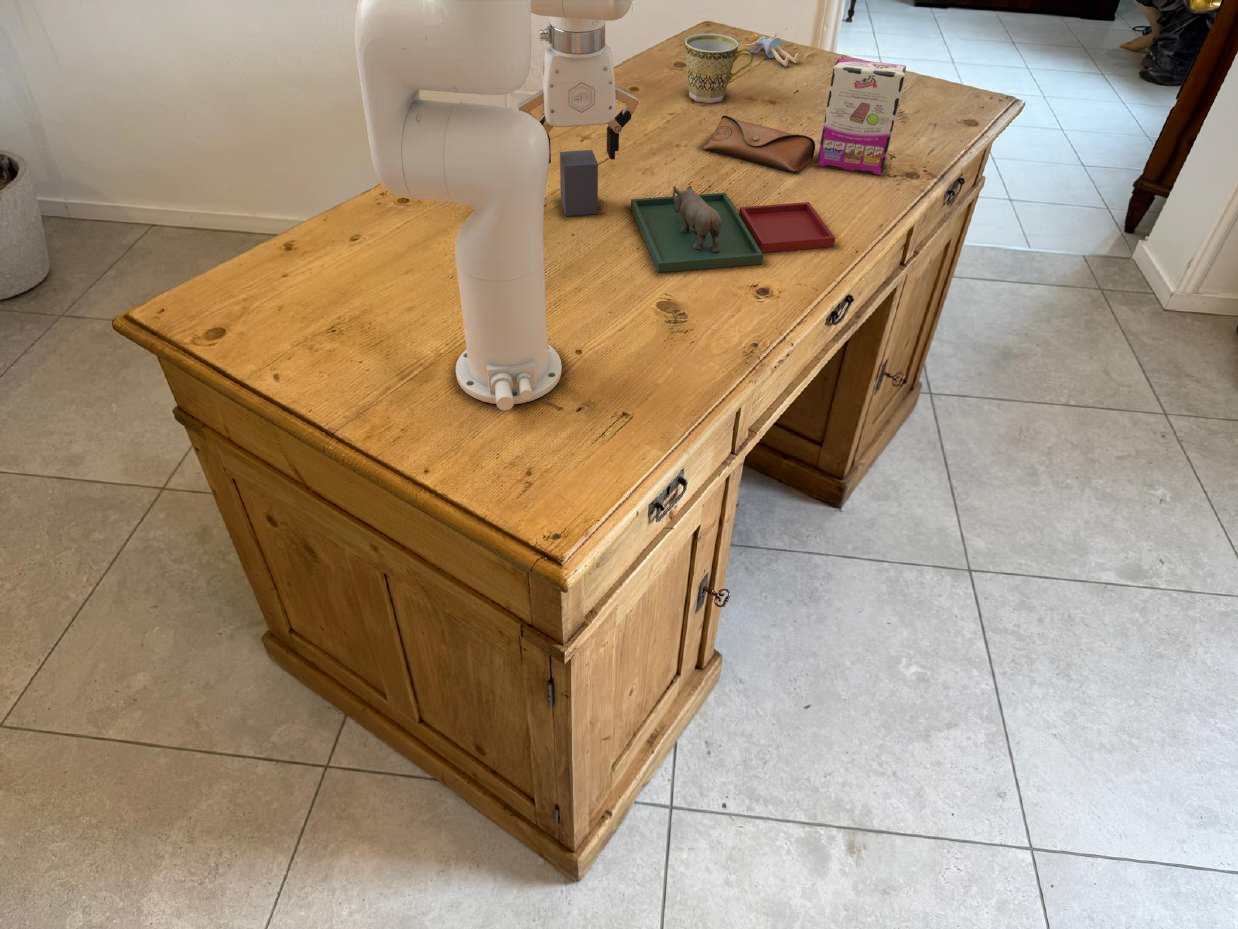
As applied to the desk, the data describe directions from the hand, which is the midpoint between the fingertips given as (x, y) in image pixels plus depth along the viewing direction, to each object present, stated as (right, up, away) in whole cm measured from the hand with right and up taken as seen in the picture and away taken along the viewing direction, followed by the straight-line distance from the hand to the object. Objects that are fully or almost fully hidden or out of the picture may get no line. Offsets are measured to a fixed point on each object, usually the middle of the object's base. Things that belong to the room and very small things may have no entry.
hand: (579, 157), depth 131 cm
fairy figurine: (+38, +41, +56) cm, 79 cm away
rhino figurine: (+17, -11, -1) cm, 20 cm away
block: (0, -6, +5) cm, 8 cm away
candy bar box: (+45, +5, +18) cm, 49 cm away
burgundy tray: (+31, -11, +1) cm, 33 cm away
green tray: (+17, -12, 0) cm, 21 cm away
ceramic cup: (+24, +25, +39) cm, 52 cm away
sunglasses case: (+30, +8, +21) cm, 37 cm away
